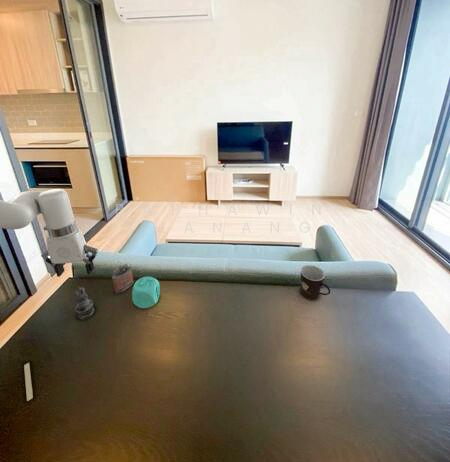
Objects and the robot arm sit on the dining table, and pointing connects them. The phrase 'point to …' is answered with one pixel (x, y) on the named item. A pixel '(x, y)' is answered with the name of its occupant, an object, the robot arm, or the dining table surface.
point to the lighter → (122, 278)
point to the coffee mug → (312, 282)
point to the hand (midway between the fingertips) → (76, 272)
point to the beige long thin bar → (28, 382)
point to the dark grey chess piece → (83, 304)
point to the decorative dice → (146, 292)
